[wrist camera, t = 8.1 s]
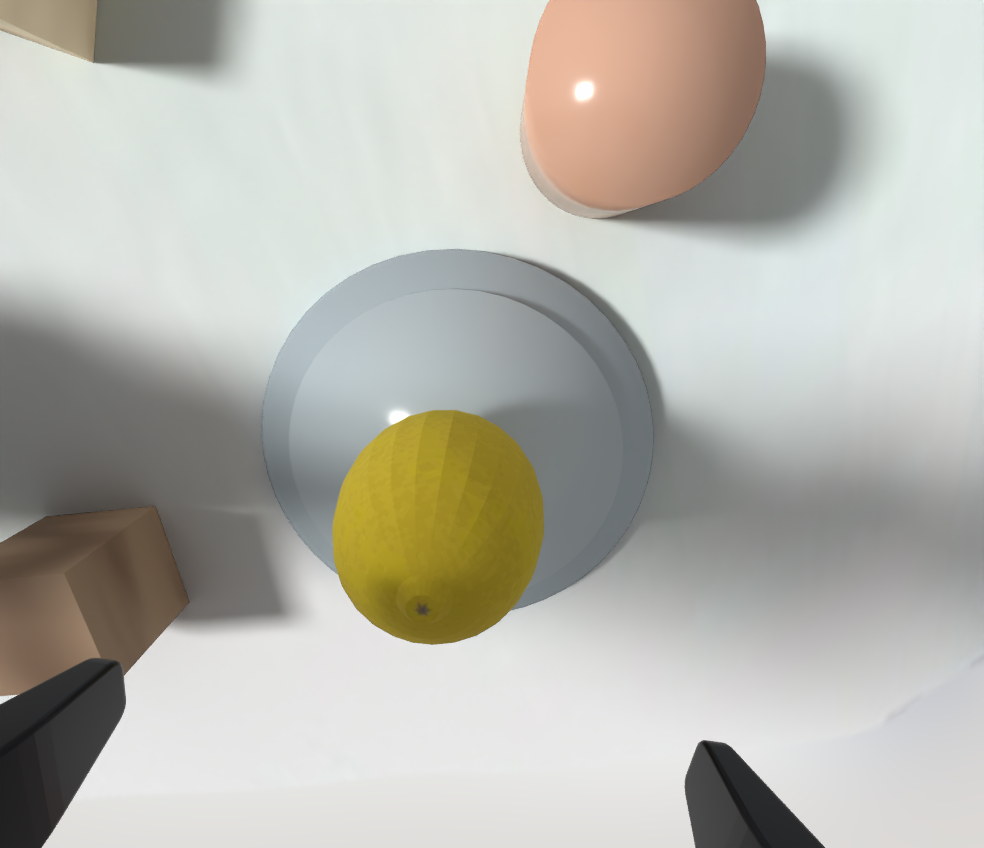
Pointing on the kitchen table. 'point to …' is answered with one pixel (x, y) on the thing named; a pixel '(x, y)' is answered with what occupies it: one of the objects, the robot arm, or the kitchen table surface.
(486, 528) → the lemon
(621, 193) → the pink cylinder
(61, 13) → the beech block
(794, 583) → the kitchen table surface
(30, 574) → the walnut block
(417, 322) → the plate
